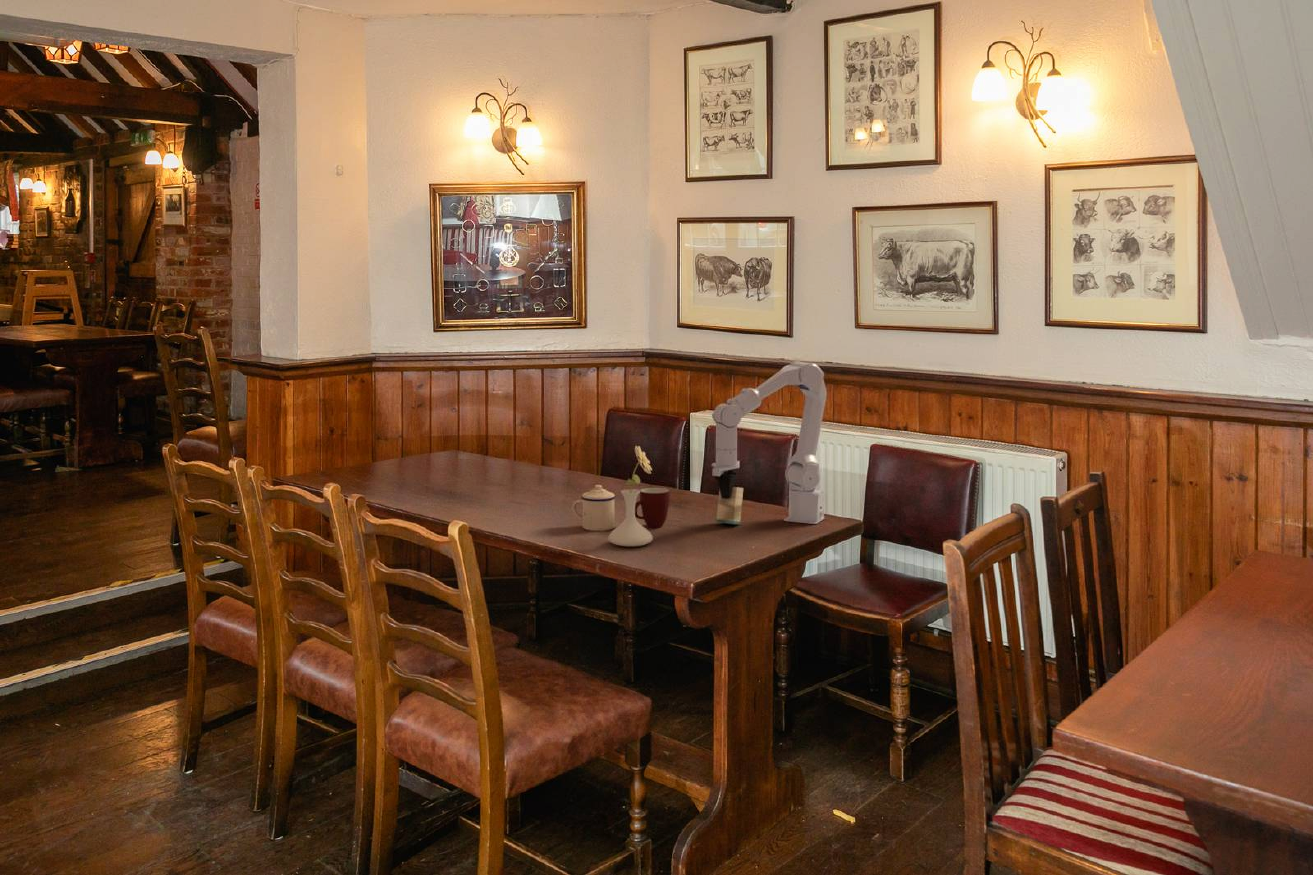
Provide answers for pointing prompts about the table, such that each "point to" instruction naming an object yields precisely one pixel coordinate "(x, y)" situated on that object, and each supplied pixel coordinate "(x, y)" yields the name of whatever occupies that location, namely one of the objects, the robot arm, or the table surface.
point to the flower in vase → (632, 512)
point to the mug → (653, 506)
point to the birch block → (730, 507)
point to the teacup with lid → (597, 509)
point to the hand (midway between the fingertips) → (726, 498)
